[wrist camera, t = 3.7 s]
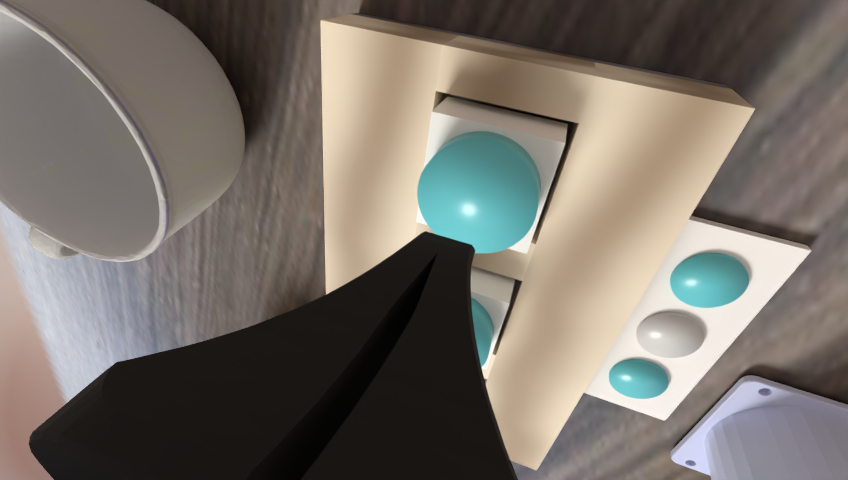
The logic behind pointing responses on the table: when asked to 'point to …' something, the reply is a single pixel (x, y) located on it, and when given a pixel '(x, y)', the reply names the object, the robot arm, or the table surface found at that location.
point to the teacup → (110, 125)
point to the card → (692, 313)
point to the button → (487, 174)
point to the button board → (565, 204)
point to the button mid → (489, 308)
